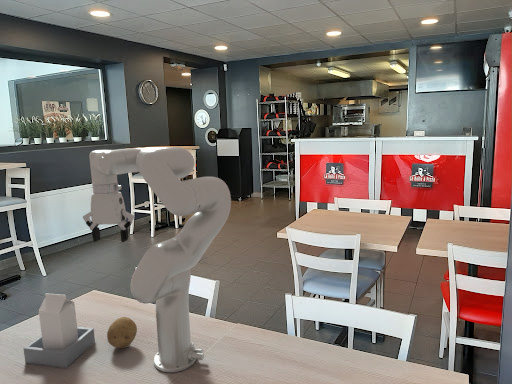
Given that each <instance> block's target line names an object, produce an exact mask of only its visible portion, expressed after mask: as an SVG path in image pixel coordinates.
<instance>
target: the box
mask: <svg viewBox="0 0 512 384" xmlns="http://www.w3.org/2000/svg"><path fill="white" fill-rule="evenodd" d="M77 331H78V339H77V340H76V341H75V342H74V343H72V344H71V345H70V346H69V347H68V348H67V349H65V350H64V351H63V350H54V349H45V348H43V341H42V334H41V335H40V336H38V337H37V338H36V339H34V340H33V341H31V342H29V344H27V345H26V346H24V347H23V355H24V361H25V364H29V365H37V366H45V367H52V368H59V369H68V368H69V367H70V366H71V365H72V364H73V363H75V361H76V360H78V359H79V358H80V357H81V356H82V355H83V354H84V353H85V352H86V351H87V350H88V349H90V348H91V347H92V346H93V345H94V344H95V343H96V339H95V330H94V328H93V327H85V326H77Z"/></svg>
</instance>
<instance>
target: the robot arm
mask: <svg viewBox="0 0 512 384" xmlns="http://www.w3.org/2000/svg"><path fill="white" fill-rule="evenodd" d="M89 165H90V166H89V167H90V174H91V184H92V192H93V193H91V197H90V198H91V199H90V211H89V212H88V213H85V214H84V215H83V216H82V219H83V221H84V222H85V224H86V226H88V227H89V230H91V235H92V240H93V242H94V243H96V242H98V241H100V240H101V239H102V238H101V230H100V227H99V226H100V225H118V227H120V229H121V230H120V232H119V233H120V241H121V243H125V242H127V241H128V240H129V228H130V226H131V225H132V223H133V221H134V219H135V215H134V214H132V213H130V212H129V211H126V205H125V201H124V197H123V194H122V192H121V191H119V190H122V187H123V186H122V185H121V184H120V185H119V182H118V175H123V174H130V173H139V174H140V175H141V176H142V177H143V179H144V181H145V183H146V184H147V186H148V187H149V188H150V189H151V190H152V191H153V193H154V195H156V197H157V199H159V201H160V202H161V204H162V205H163V206H164V207H165V209H166V210H167V211H168V212H169V213H171V214H173V215H175V216H178V217H186V216H190V215H191V217H190V218H189V219H187V221H186V222H185V223H184V225H183V227H182V228H181V230H180V232H179V233H178V234H177V235H175V236H174V237H172V238H171V237H170V238H169V239H166V240H163V241H160V242H157V243H155V244H153V245H152V246H150V247H149V248H148V249H147V250H146V251H145V253H144V254H143V256H142V258H141V259H140V261H139V263H137V266H136V268H135V270H134V272H133V274H132V276H131V280H130V288H129V289H130V292H131V295H132V297H133V298H134V299H135V301H137V302H139V303H141V304H151V303H154V302H155V319H156V320H155V321H156V333H157V334H156V336H157V346H158V347H157V349H158V351H157V352H156V354H155V355H154V357H153V365H154V367H155V368H156V369H158V370H159V371H161V372H164V373H165V372H166V373H177V372H181V371H184V370H187V369H189V368H191V366H192V365H194V364H195V363H196V361H203V360H204V357H205V353H204V352H203V351H204V349H203V348H196V347H195V343H194V342H192V341H191V325H190V324H191V323H190V322H191V320H190V308H189V305H190V303H189V301H190V300H189V299H190V298H189V295H190V294H189V291H190V283H191V274H192V273H191V269H192V268H194V267H195V266H196V265H197V264H198V263H199V261H200V260H201V259H202V257H203V256H204V255H205V253H206V251H207V250H208V248H209V247H210V245H212V243H213V241H214V240H215V239H216V236H217V235H218V234H219V233H220V231H221V230H222V229H223V227H224V225H225V224H226V223H227V220H228V218H229V217H230V213H231V208H232V207H231V206H232V198H231V191H230V189H229V186H228V185H227V184H226V183H227V182H225V181H224V180H222V179H221V178H219V177H216V176H201V177H196V178H191V179H185V180H180V179H183V178H186V177H188V176H189V175H190V174H191V173H192V172H193V170H194V168H195V158H194V156H193V154H192V153H191V152H190V151H189V150H187V149H185V148H183V147H178V146H169V147H168V146H166V147H165V146H163V147H160V146H159V147H157V146H155V147H154V146H153V147H152V146H151V147H148V146H147V147H133V148H130V147H129V148H119V149H118V148H117V149H96V150H92V151H90V152H89Z"/></svg>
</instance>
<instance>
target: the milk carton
mask: <svg viewBox="0 0 512 384" xmlns="http://www.w3.org/2000/svg"><path fill="white" fill-rule="evenodd" d="M44 296H45V297H44V299H43V301H42V303H41V305H40V307H39V309H38V317H39V325H40V333H41V335H42V341H43V348H45V349H54V350H63V351H64V350H65V349H67V348H68V347H69V346H70V345H71V344H72V343H74V342H75V341H76V340H77V339H78V331H77V327H78V323H77V314H76V305H75V304H76V303H75V302H74V301H73V300H71V299H69V298H67V295H66V294H59V293H58V294H56V293H48V292H47V293H45V294H44Z"/></svg>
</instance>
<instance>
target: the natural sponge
mask: <svg viewBox="0 0 512 384" xmlns="http://www.w3.org/2000/svg"><path fill="white" fill-rule="evenodd" d="M137 331H138V328H137V324H136V322H135V321H134V320H133V319H131V318H129V317H126V316H123V317H120V318H117V319H116V320H115V321H113V322H112V323H111V324H110V326H108V329H107V333H106V337H107V342H108V343H109V345H110V346H112V347H115V348H120V349H125V348H128V347H129V346H130V345H131V344H132V343H133V342H134V340H135V338H136V336H137Z"/></svg>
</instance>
